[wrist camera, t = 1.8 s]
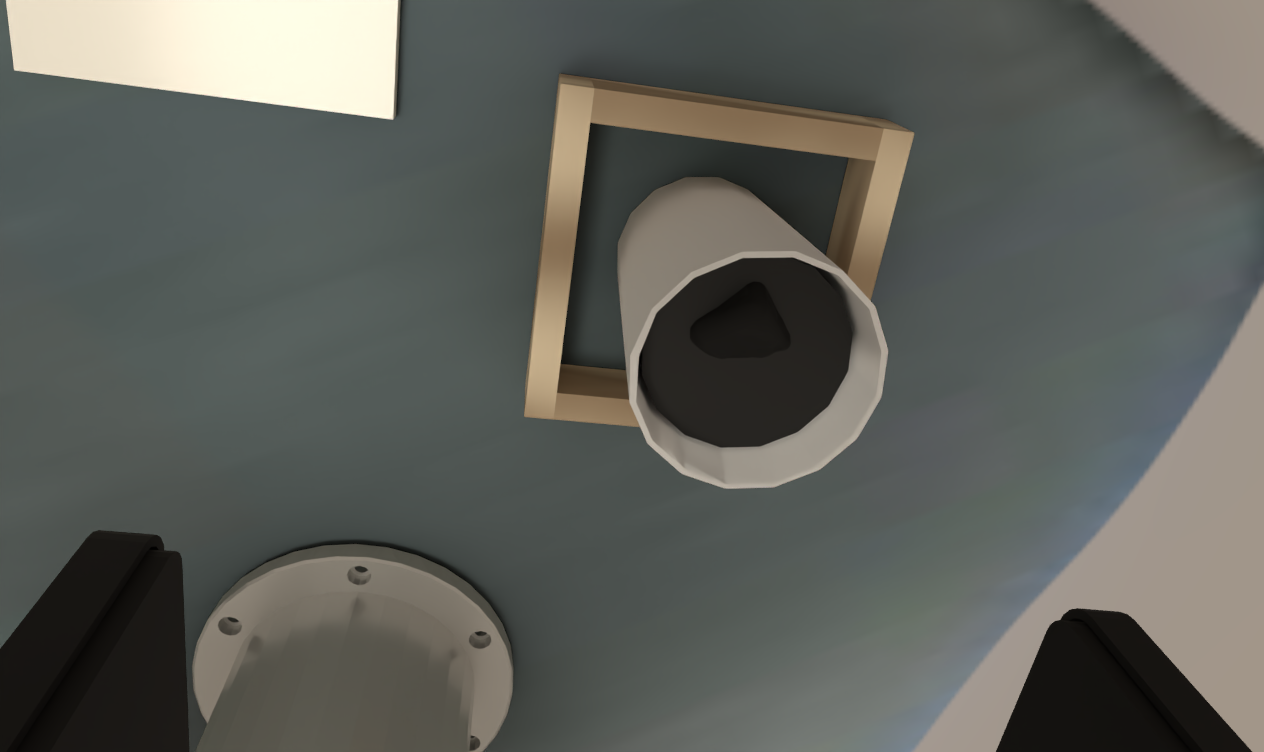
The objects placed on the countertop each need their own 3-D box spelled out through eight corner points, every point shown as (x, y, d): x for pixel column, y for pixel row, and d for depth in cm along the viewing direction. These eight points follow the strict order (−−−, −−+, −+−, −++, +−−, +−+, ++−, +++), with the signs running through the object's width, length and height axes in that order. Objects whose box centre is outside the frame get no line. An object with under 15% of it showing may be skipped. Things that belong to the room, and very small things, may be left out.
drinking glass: (565, 233, 32) (574, 345, 23) (732, 123, 31) (812, 194, 22) (667, 378, 34) (712, 532, 25) (824, 281, 33) (930, 405, 24)
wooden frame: (814, 412, 35) (832, 444, 33) (525, 385, 34) (524, 416, 32) (887, 119, 31) (914, 132, 29) (558, 73, 30) (560, 83, 27)
